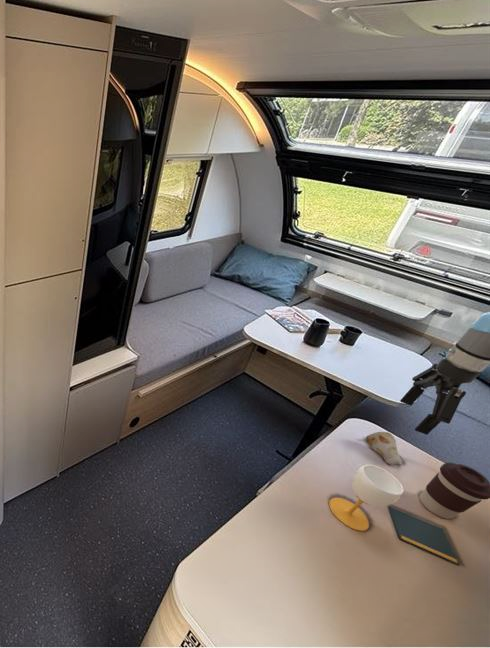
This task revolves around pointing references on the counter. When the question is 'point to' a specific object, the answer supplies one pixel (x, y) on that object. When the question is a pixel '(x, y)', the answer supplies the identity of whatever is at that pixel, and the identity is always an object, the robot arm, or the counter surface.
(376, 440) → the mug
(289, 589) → the counter surface
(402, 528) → the book
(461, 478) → the coffee cup
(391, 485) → the cup
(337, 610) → the counter surface
